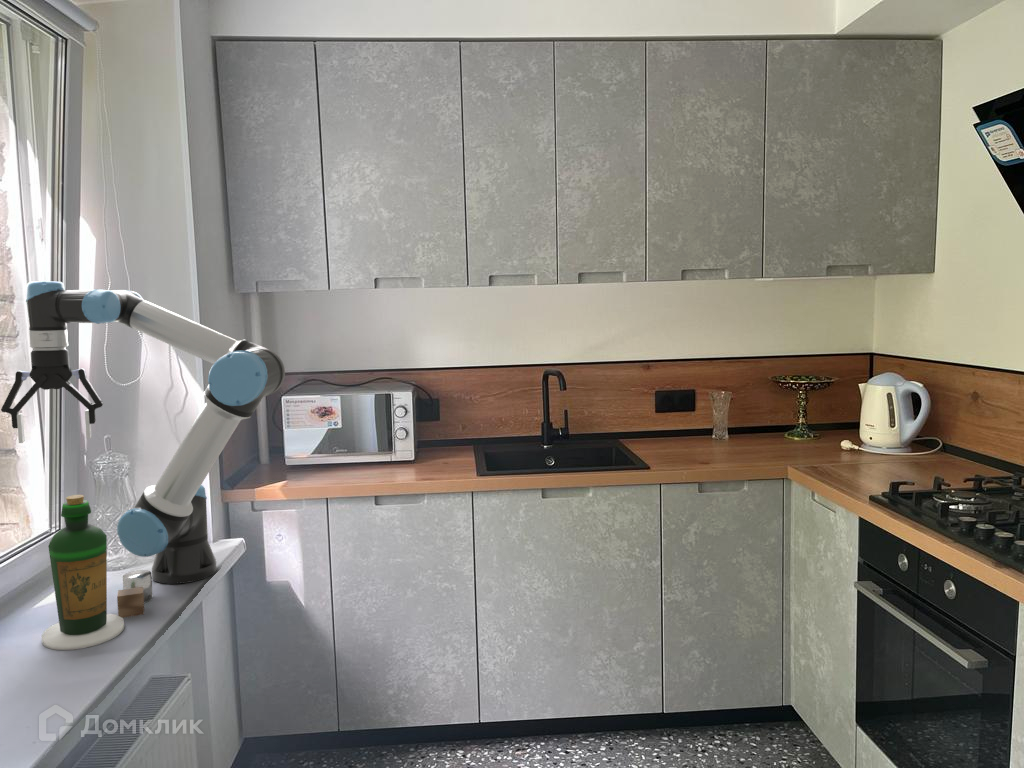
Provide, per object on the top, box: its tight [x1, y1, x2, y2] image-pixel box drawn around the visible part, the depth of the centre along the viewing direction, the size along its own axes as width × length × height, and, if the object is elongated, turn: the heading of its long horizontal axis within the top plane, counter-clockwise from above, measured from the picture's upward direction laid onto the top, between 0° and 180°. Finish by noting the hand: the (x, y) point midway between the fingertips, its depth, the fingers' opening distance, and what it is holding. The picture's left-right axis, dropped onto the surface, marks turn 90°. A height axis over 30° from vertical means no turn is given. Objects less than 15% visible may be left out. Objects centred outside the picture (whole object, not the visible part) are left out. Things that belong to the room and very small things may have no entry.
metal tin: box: [122, 569, 154, 604], centre depth 179 cm, size 6×6×6 cm
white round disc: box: [41, 613, 125, 651], centre depth 161 cm, size 15×15×1 cm
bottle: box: [48, 494, 108, 635], centre depth 160 cm, size 11×11×28 cm
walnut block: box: [116, 587, 145, 619], centre depth 172 cm, size 5×4×5 cm
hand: (55, 440), depth 180 cm, fingers open, 13 cm apart
